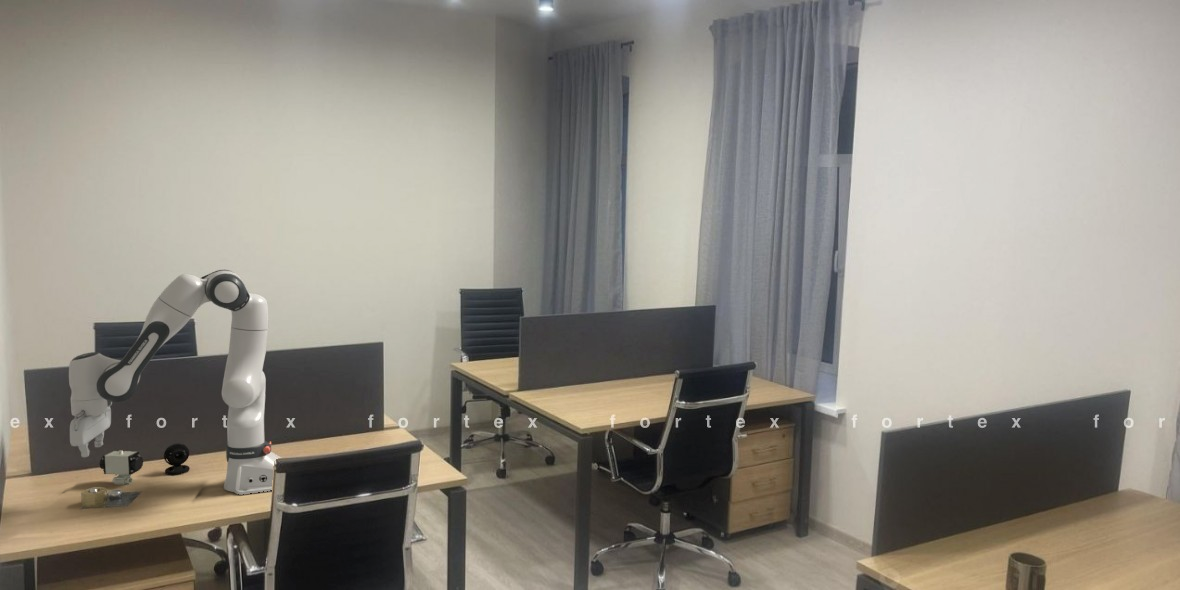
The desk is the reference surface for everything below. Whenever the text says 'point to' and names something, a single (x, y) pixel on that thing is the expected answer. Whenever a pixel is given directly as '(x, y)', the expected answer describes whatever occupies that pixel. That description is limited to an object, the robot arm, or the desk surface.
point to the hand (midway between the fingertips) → (92, 451)
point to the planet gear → (94, 497)
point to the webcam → (176, 459)
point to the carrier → (116, 499)
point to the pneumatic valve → (121, 465)
